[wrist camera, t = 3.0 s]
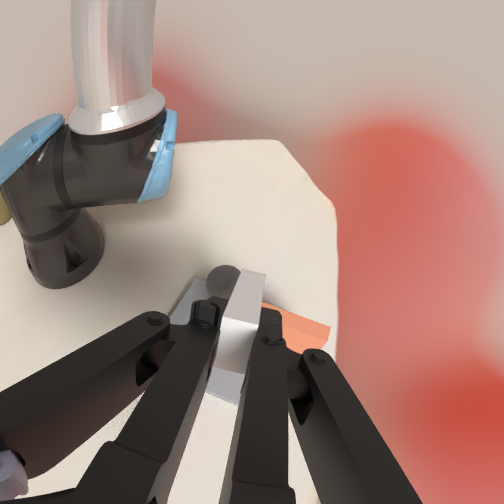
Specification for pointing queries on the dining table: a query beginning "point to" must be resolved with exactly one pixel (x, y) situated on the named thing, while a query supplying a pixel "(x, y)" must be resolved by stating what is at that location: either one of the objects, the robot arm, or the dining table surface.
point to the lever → (294, 326)
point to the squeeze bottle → (4, 211)
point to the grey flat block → (220, 380)
